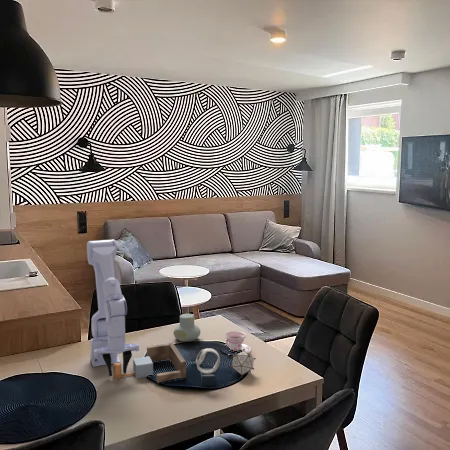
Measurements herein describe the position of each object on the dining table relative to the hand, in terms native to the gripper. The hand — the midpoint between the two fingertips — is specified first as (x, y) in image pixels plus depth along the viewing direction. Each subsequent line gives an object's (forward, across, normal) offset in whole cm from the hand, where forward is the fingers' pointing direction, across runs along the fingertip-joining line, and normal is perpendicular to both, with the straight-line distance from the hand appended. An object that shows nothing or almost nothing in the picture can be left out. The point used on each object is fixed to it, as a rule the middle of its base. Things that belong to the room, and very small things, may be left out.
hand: (117, 373), depth 157 cm
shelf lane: (+1, +16, 0) cm, 17 cm away
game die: (+2, +40, -12) cm, 42 cm away
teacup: (+2, +46, +8) cm, 47 cm away
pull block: (+1, +5, 0) cm, 5 cm away
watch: (+2, +28, -13) cm, 30 cm away
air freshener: (+2, +32, +25) cm, 40 cm away
